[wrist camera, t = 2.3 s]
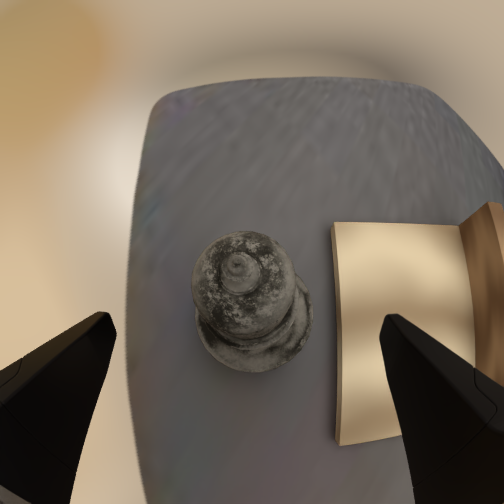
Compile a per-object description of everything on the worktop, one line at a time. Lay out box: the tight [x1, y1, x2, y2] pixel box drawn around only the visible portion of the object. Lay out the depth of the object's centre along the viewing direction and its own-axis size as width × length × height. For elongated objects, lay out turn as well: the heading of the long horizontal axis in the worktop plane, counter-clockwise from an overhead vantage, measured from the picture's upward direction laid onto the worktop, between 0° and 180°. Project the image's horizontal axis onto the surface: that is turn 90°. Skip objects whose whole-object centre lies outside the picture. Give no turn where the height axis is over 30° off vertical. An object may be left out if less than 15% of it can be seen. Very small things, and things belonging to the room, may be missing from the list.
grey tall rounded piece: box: [191, 231, 313, 372], centre depth 11 cm, size 6×6×12 cm
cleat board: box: [330, 202, 504, 446], centre depth 14 cm, size 14×12×5 cm
